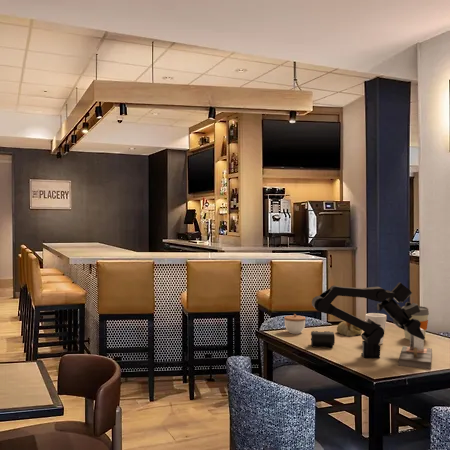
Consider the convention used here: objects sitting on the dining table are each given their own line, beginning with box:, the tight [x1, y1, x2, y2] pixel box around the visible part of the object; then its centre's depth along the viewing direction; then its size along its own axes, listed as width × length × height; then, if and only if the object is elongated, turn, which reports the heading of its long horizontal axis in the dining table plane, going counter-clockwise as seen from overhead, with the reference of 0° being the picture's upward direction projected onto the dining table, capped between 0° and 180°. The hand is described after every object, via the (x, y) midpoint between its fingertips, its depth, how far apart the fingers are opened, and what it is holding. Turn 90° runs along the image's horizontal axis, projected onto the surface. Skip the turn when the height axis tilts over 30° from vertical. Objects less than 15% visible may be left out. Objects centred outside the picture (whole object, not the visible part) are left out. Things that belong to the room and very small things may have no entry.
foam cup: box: [365, 312, 387, 345], centre depth 257 cm, size 10×9×13 cm
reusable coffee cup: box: [401, 305, 430, 341], centre depth 266 cm, size 13×13×15 cm
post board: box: [398, 345, 433, 370], centre depth 227 cm, size 24×12×6 cm, turn 158°
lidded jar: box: [284, 313, 307, 335], centre depth 279 cm, size 11×11×9 cm
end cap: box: [310, 330, 336, 348], centre depth 250 cm, size 10×7×7 cm
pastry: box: [336, 320, 363, 337], centre depth 278 cm, size 14×12×8 cm
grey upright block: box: [409, 328, 425, 351], centre depth 232 cm, size 4×5×9 cm
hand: (420, 336), depth 232 cm, fingers open, 9 cm apart
